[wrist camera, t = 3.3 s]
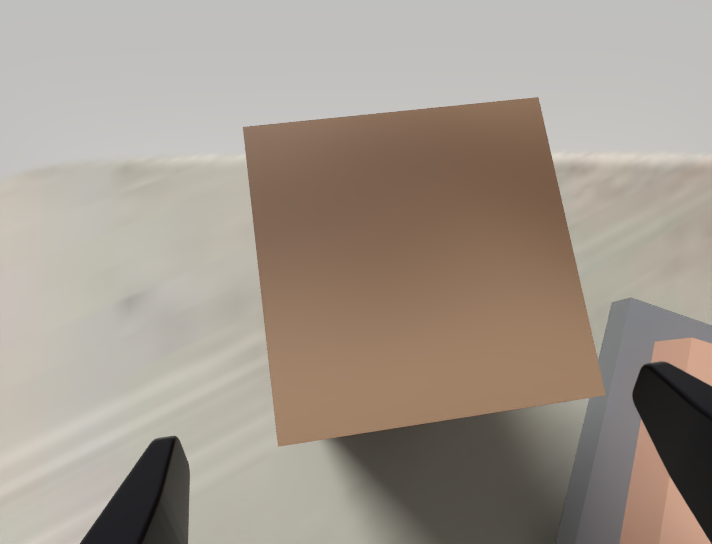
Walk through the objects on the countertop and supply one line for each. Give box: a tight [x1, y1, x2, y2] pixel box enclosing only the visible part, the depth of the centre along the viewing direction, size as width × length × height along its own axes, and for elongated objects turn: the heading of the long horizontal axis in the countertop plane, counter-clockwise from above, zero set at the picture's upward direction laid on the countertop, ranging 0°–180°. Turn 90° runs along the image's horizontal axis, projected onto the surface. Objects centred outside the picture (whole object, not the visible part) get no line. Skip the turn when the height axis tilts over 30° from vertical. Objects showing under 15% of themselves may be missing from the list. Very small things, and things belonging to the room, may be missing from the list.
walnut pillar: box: [243, 97, 606, 446], centre depth 14 cm, size 5×5×12 cm
